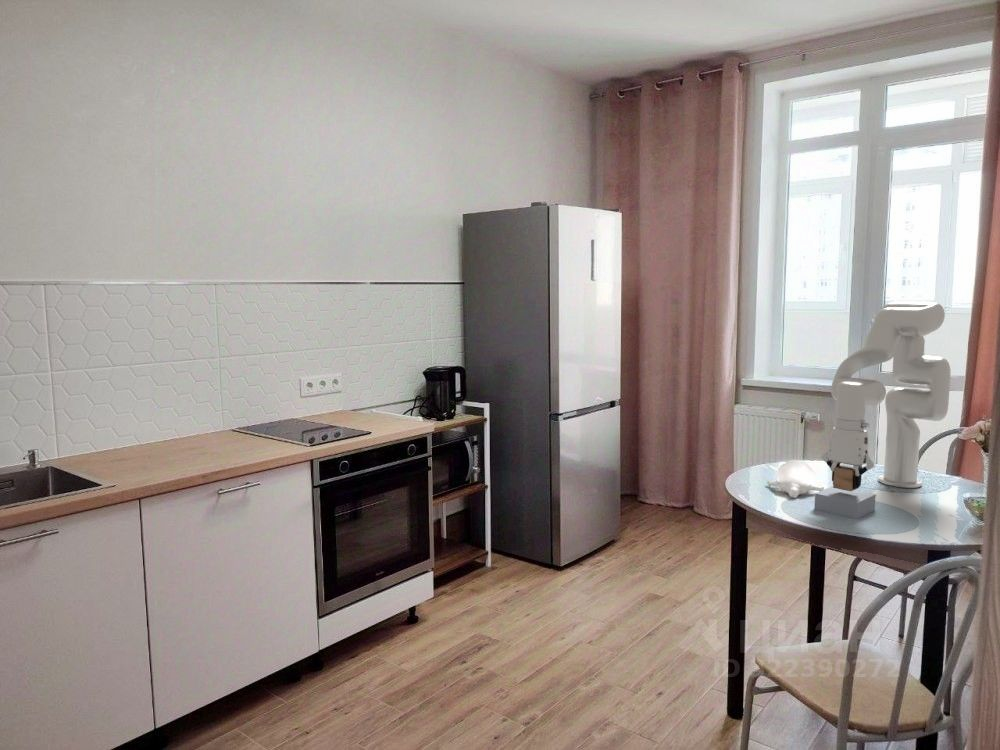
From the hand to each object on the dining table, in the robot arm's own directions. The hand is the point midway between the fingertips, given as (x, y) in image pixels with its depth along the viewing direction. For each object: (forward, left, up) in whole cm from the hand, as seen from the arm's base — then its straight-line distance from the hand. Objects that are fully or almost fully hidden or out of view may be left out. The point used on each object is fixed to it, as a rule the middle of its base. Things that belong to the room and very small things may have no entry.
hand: (845, 485), depth 202 cm
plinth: (0, 0, -7) cm, 7 cm away
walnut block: (0, 0, -1) cm, 1 cm away
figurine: (-10, -20, -8) cm, 24 cm away
